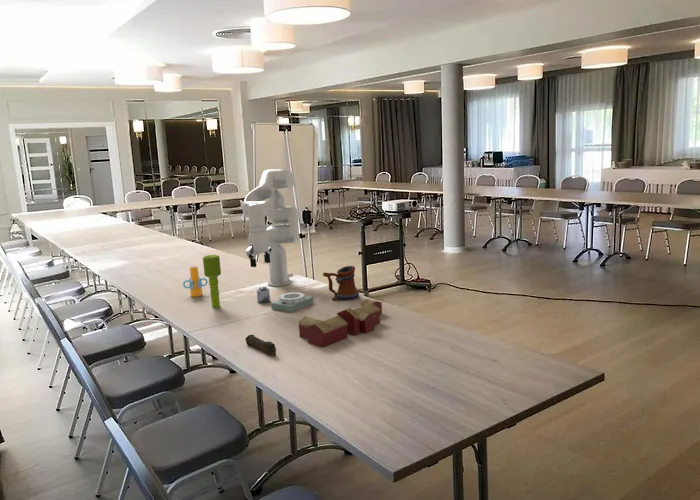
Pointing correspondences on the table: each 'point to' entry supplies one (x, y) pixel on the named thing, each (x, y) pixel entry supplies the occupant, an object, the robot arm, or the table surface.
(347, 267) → the mug
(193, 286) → the cylinder
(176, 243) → the table surface
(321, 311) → the table surface
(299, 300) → the block
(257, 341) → the brown elongated bar
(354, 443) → the table surface
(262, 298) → the hub
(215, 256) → the microphone
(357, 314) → the toy houses
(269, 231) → the robot arm
